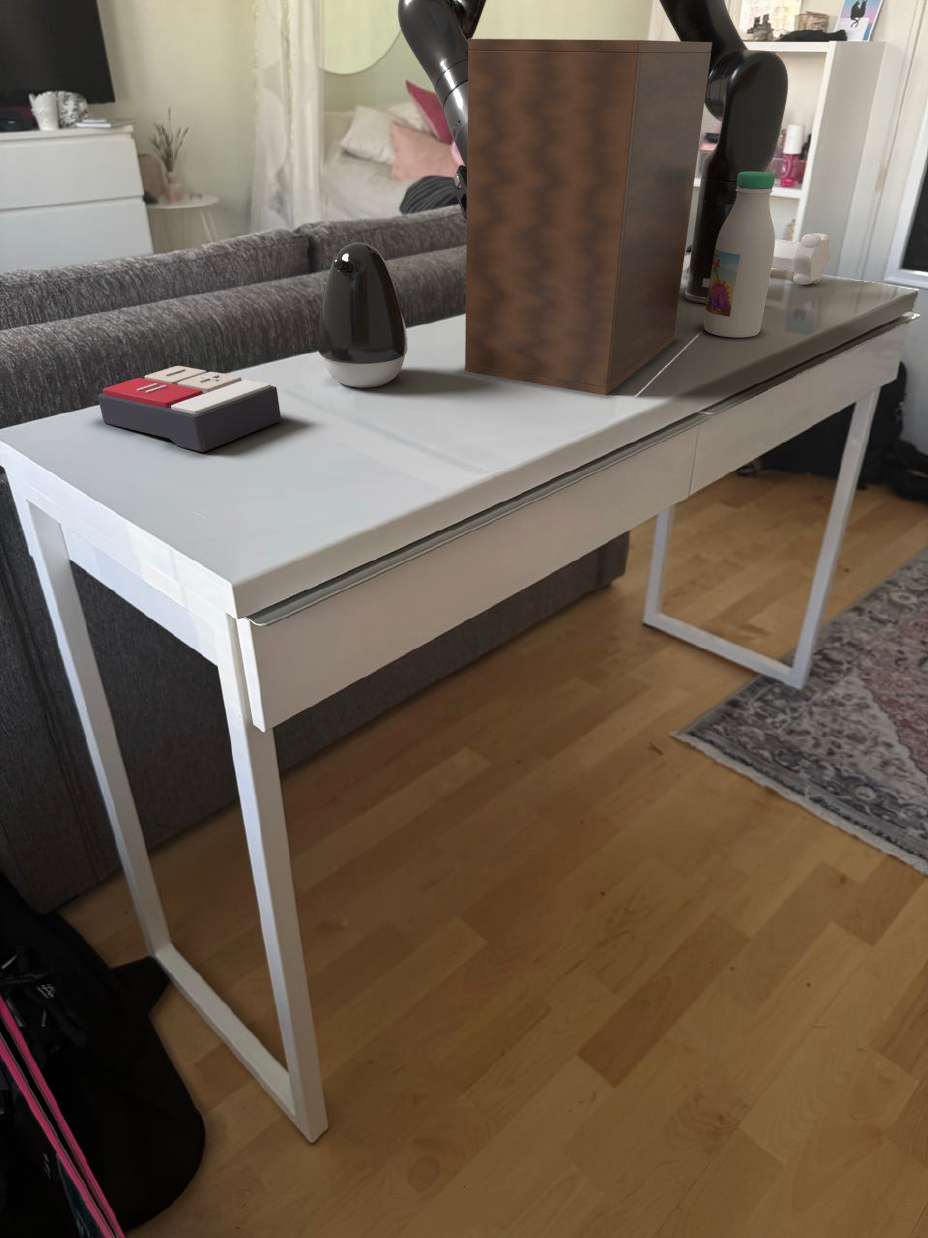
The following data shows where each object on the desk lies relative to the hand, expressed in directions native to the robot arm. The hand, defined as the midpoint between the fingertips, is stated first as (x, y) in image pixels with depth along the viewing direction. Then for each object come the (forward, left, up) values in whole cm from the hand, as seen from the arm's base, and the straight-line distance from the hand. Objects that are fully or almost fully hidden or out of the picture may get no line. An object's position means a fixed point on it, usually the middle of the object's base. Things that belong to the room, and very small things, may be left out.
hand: (531, 241), depth 114 cm
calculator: (+43, -18, -13) cm, 49 cm away
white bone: (-59, +20, -13) cm, 64 cm away
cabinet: (+1, +7, -13) cm, 15 cm away
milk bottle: (-21, +22, -13) cm, 33 cm away
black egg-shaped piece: (+23, -10, -13) cm, 28 cm away
